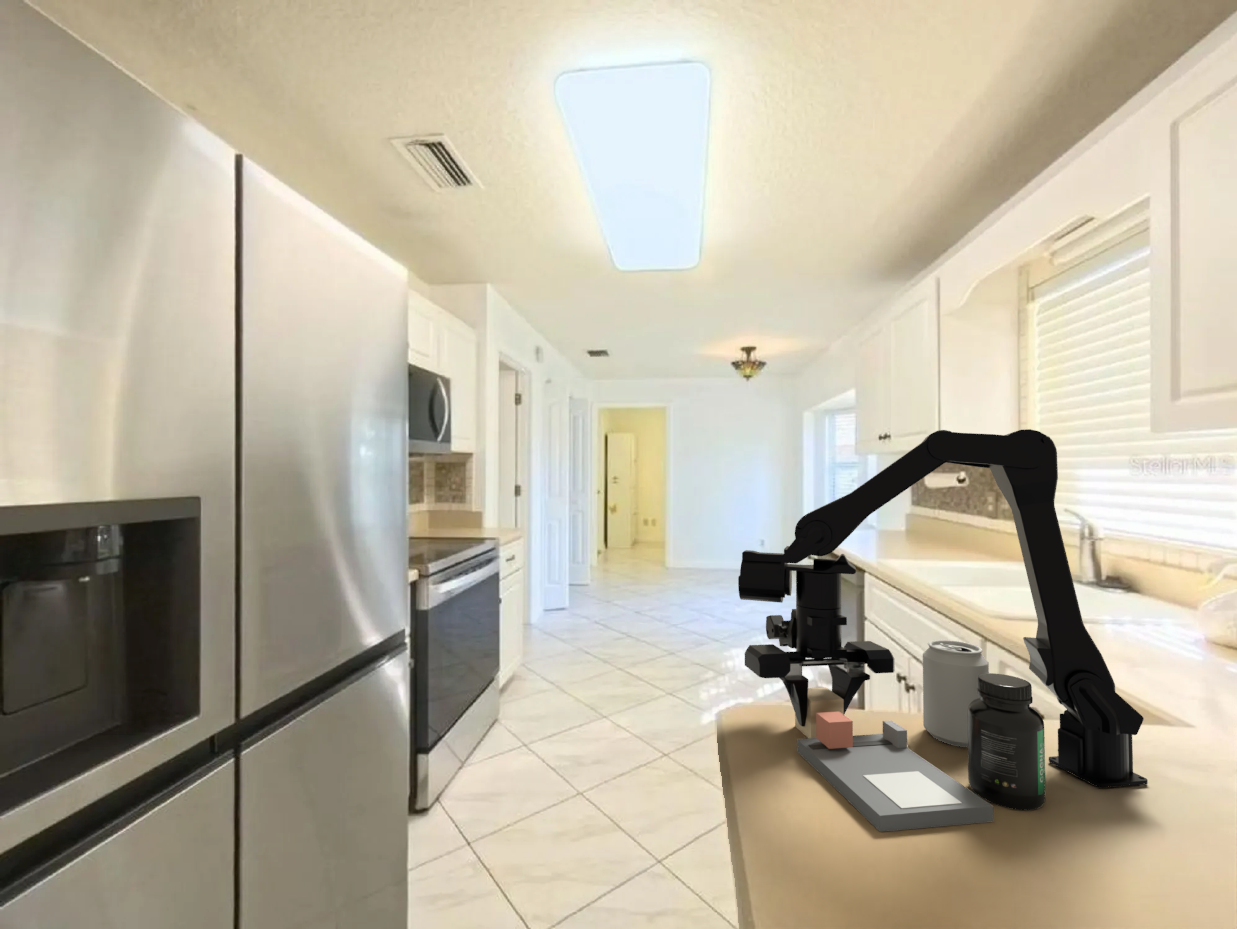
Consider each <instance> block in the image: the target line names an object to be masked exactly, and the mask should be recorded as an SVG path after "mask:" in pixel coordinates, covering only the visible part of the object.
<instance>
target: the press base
mask: <svg viewBox="0 0 1237 929" xmlns="http://www.w3.org/2000/svg"><path fill="white" fill-rule="evenodd" d="M796 752H797V753H798V754H799V755H800V756H801V757H802V758H803V759H804V760H805V761H806V762H807V763H808V764H810V766H811V767H813V769H815V771H817V772H818V773H819V774H820V775H821V776H822V777H823V779H825V780H826V781H827V782H828V783H829V784H830V785H831V786H832V787H833V788H834V789H835V790H836V791H837V792H838V793H839V794H840V795H841V796H843V798H844V799H845V800H847V801H848V802H849V804H851V805H852V806H853V808H854V809H856V810H857V811H858V812H859V813H860V814H861V815H862V816H863V817H864V818H865V819H866V820H867V821H868V822H869V823H870V824H871V825H872V826H873V827H874V828H875V829H876V830H877V831H878V832H879V833H882V832H883V833H885V832H896V831H897V832H898V831H907V830H915V829H917V830H918V829H928V828H939V827H949V826H960V825H969V824H970V825H972V824H973V825H974V824H982V823H983V824H984V823H994V805H992V804H991V803H990V802H989V801H987V800H985V799H983V798H981V797H980V796H978V795H977V794H976V793H975V792H974V791H973V790H971V789H969V788H968V787H966V786H965V785H963V784H961V783H960V782H959V781H957V780H956V779H954V778H953V777H951V776H950V775H948V774H947V773H946V772H944V771H942V770H941V769H940V768H938V767H936V765H933V764H932V763H931V762H929V761H927V760H926V759H925V758H923V757H922V756H920V755H919V754H917V753H916V752H915V751H913V750H911V749H910V748H909V747H908V730H907V729H905V728H904V727H903V726H901V725H899V724H897V723H896V722H894V721H893V720H882V733H876V734H874V733H873V734H861V735H859V734H858V735H857V734H856V735H853V747H848V748H833V749H829V748H828V747H826V746H825V745H824V744H823V743H822V742H821V741H819V740H818V739H817V738H808V737H806V738H797V739H796Z"/></svg>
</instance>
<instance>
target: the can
mask: <svg viewBox="0 0 1237 929" xmlns="http://www.w3.org/2000/svg"><path fill="white" fill-rule="evenodd" d="M927 645H928V648H927V649H926V650H925V651H924V652H923V653H922V701H923V702H922V703H923V704H922V707H923V708H922V711H923V713H922V714H923V716H922V717H923V718H922V719H923V721H922V722H923V728H924V729H925V730H926V731H927V732H928V733H929V734H930V736H931V735H932V736H933V737H932V736H931V737H932V738H934V739H935V738H936V739H935V740H937V739H938V740H937V741H939V742H941V741H942V742H941V743H943V742H944V744H946V743H948V744H947V745H950V744H951V746H955V747H959V746H960V748H968V718H967V713H968V706H969V704H970V703H971V702H972V701H973V700H975V699H977V698H980V696H979V695H978V694H977V688H978V676H979V675H980V674H985V673H990V668H989V667H990V663H989V661H988V660H987V659H986V658H985V656H984V655H983V654H982V652H984V650H983V649H982V647H980V646H978V645H975V644H973V643H968V642H964V641H959V640H958V641H957V640H950V639H949V640H948V639H936V640H935V639H933V640H930V641H929V642H928V643H927Z"/></svg>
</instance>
